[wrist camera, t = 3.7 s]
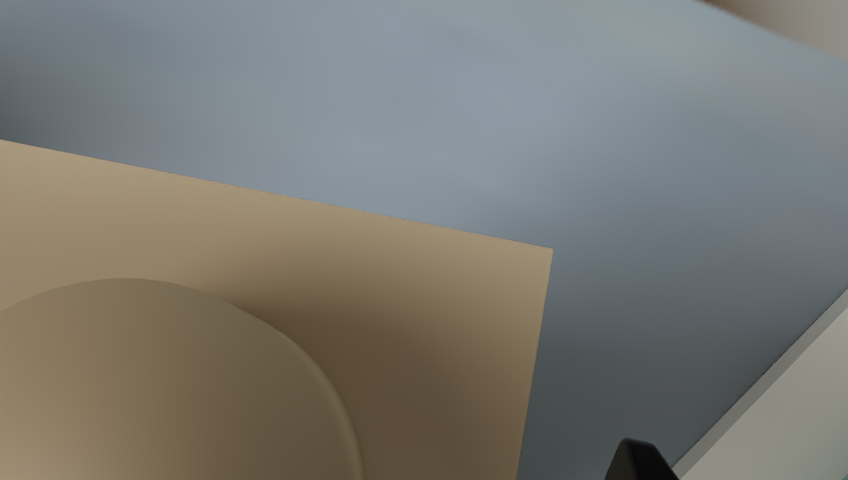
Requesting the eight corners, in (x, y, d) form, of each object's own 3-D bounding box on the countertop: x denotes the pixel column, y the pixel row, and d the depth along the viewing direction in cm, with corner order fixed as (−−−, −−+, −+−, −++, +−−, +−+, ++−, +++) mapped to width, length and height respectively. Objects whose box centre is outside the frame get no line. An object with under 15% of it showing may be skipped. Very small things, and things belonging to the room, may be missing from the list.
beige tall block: (430, 564, 16) (426, 1227, 3) (233, 518, 16) (-534, 938, 3) (469, 360, 17) (581, 212, 4) (286, 321, 17) (-124, 75, 4)
